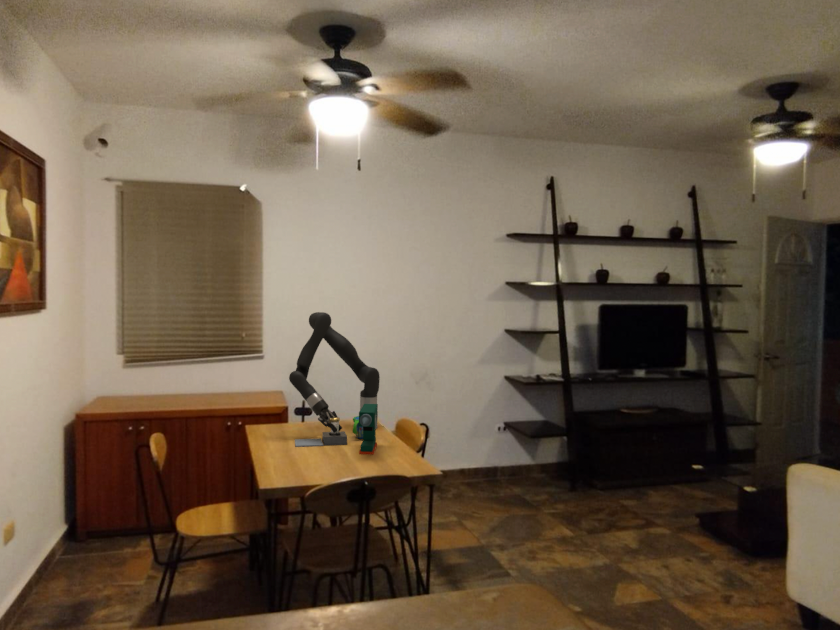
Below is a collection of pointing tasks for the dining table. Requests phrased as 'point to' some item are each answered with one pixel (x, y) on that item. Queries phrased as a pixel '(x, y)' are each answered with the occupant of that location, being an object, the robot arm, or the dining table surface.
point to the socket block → (334, 438)
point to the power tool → (368, 428)
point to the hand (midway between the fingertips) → (338, 430)
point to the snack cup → (357, 428)
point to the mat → (308, 442)
